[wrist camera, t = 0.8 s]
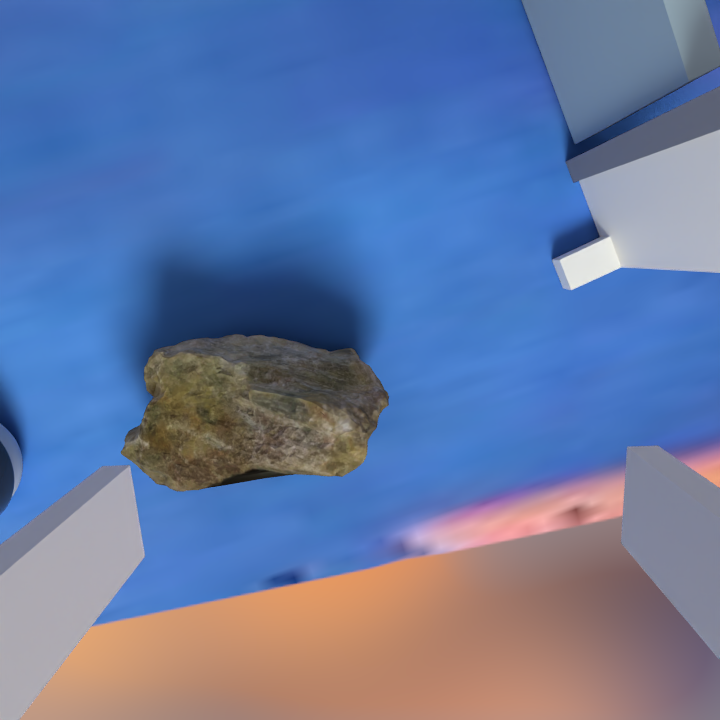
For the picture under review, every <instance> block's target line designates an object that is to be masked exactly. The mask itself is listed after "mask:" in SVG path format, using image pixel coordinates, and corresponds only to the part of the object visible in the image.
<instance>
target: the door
mask: <svg viewBox="0 0 720 720" xmlns="http://www.w3.org/2000/svg"><path fill="white" fill-rule="evenodd" d="M522 3H523V6H524V8H525V11H526V14H527V16H528V19H529V22H530V24H531V27H532V30H533V33H534V35H535V38H536V41H537V43H538V46H539V49H540V51H541V54H542V57H543V60H544V62H545V65H546V68H547V70H548V73H549V76H550V78H551V81H552V84H553V87H554V89H555V92H556V95H557V97H558V100H559V103H560V106H561V108H562V111H563V114H564V116H565V119H566V122H567V124H568V127H569V130H570V133H571V135H572V138H573V141H574V143H575V144H577V143H579V142H581V141H583V140H585V139H587V138H589V137H591V136H593V135H595V134H597V133H599V132H601V131H603V130H604V129H606V128H608V127H610V126H612V125H614V124H615V123H617V122H619V121H621V120H623V119H624V118H626V117H628V116H630V115H632V114H634V113H635V112H637V111H639V110H641V109H643V108H645V107H646V106H648V105H650V104H652V103H654V102H656V101H657V100H659V99H661V98H663V97H665V96H667V95H668V94H670V93H672V92H674V91H676V90H678V89H679V88H681V87H683V86H685V85H687V84H688V83H690V82H692V81H694V80H696V79H698V78H699V77H701V76H703V75H705V74H707V73H709V72H710V71H712V70H714V69H716V68H718V67H720V48H719V45H718V42H717V39H716V35H715V32H714V29H713V25H712V22H711V19H710V16H709V12H708V9H707V6H706V3H705V0H522Z"/></svg>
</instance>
